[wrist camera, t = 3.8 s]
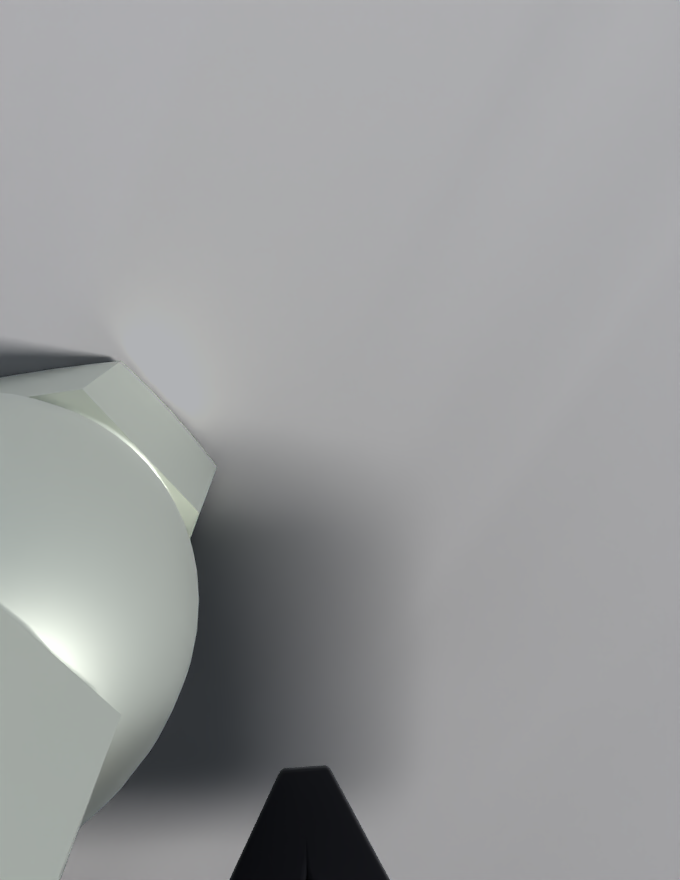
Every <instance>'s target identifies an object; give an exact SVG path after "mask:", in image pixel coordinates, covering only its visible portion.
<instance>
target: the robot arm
mask: <svg viewBox="0 0 680 880" xmlns="http://www.w3.org/2000/svg"><path fill="white" fill-rule="evenodd" d="M230 880H390V879H389V877H388V876H387V874H386V872H385V870H384V868H383V866H382V864H381V863H380V861H379V859H378V857H377V855H376V853H375V851H374V849H373V848H372V846H371V844H370V842H369V840H368V838H367V836H366V835H365V833H364V831H363V829H362V827H361V825H360V823H359V822H358V820H357V818H356V816H355V814H354V812H353V810H352V808H351V807H350V805H349V803H348V801H347V799H346V797H345V795H344V794H343V792H342V790H341V788H340V786H339V784H338V782H337V781H336V779H335V777H334V775H333V773H332V771H331V770H330V768H329V767H327V766H324V765H323V766H309V767H295V768H284V769H282V770H281V771H280V773H279V774H278V776H277V778H276V781H275V783H274V785H273V787H272V789H271V791H270V794H269V796H268V798H267V800H266V802H265V804H264V806H263V809H262V811H261V813H260V815H259V817H258V819H257V822H256V824H255V826H254V828H253V830H252V832H251V834H250V837H249V839H248V841H247V843H246V845H245V847H244V850H243V852H242V854H241V856H240V858H239V860H238V862H237V865H236V867H235V869H234V871H233V873H232V875H231V878H230Z"/></svg>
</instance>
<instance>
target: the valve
mask: <svg viewBox="0 0 680 880" xmlns="http://www.w3.org/2000/svg"><path fill="white" fill-rule="evenodd" d="M216 469H217V466H216V465H215V463H214V462H213V461H212V460H211V458H210V457H209V456H208V454H207V453H206V452H205V450H204V449H203V448H202V447H201V445H200V444H199V443H198V442H197V440H196V439H195V438H194V437H193V436H192V434H191V433H190V432H189V431H188V430H187V429H186V428H185V426H184V425H183V424H182V423H181V422H180V421H179V419H178V418H177V417H176V416H175V415H174V414H173V412H172V411H171V410H170V409H169V408H168V407H167V406H166V405H165V404H164V403H163V402H162V401H161V400H160V399H159V398H158V397H157V396H156V395H155V394H154V393H153V392H152V391H151V389H150V388H149V387H148V386H147V385H146V384H144V383H143V382H142V381H141V380H140V379H139V378H138V377H137V376H136V375H135V374H134V373H133V372H132V371H131V370H130V369H129V368H128V367H127V366H126V365H124V364H123V363H122V362H121V361H115V362H105V363H96V364H87V365H79V366H71V367H64V368H56V369H49V370H43V371H36V372H30V373H24V374H17V375H11V376H6V377H0V880H60V879H61V876H62V874H63V871H64V868H65V866H66V863H67V860H68V858H69V855H70V852H71V849H72V847H73V844H74V841H75V839H76V836H77V833H78V831H79V828H80V827H81V826H82V825H83V824H84V823H85V822H87V821H88V820H89V819H90V818H91V817H92V816H93V815H95V814H96V813H97V812H98V811H99V810H100V809H101V808H103V807H104V806H105V805H106V804H107V803H108V802H109V801H110V800H111V799H112V798H113V797H114V796H115V795H116V793H117V792H118V791H119V790H120V789H121V788H122V787H123V785H124V784H125V783H126V782H127V780H128V779H129V778H130V776H131V775H132V774H133V773H134V771H135V770H136V769H137V767H138V766H139V765H140V764H141V762H142V761H143V760H144V758H145V757H146V756H147V754H148V753H149V752H150V751H151V749H152V747H153V746H154V744H155V742H156V741H157V739H158V738H159V736H160V734H161V732H162V730H163V728H164V726H165V724H166V722H167V720H168V718H169V717H170V715H171V713H172V711H173V708H174V706H175V703H176V701H177V699H178V696H179V694H180V691H181V689H182V686H183V684H184V682H185V679H186V676H187V673H188V670H189V667H190V663H191V659H192V654H193V649H194V644H195V639H196V634H197V623H198V607H199V593H198V578H197V568H196V563H195V558H194V553H193V549H192V545H191V541H190V539H191V536H192V533H193V531H194V528H195V525H196V523H197V520H198V517H199V515H200V512H201V509H202V506H203V504H204V501H205V498H206V496H207V493H208V490H209V488H210V485H211V482H212V480H213V477H214V474H215V471H216Z"/></svg>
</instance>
